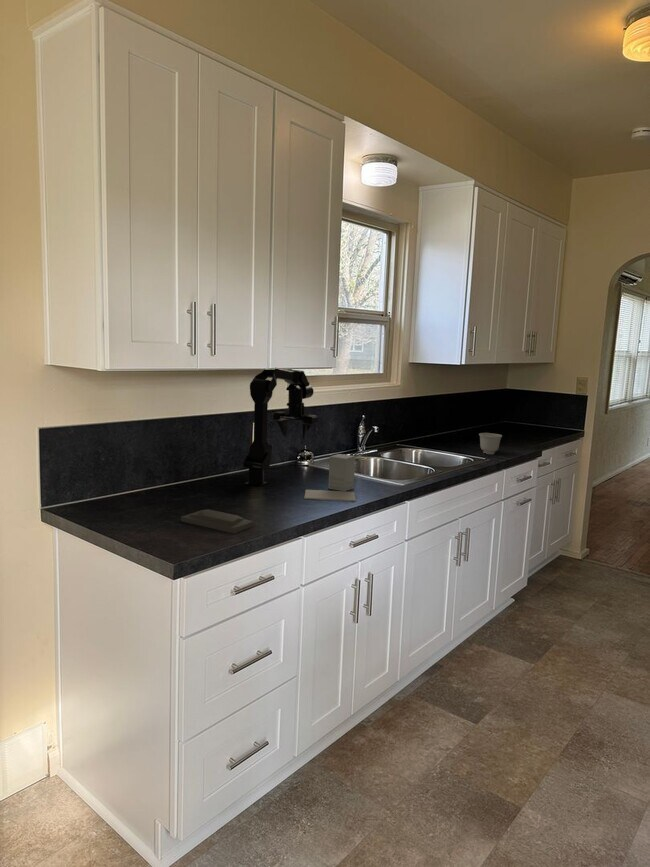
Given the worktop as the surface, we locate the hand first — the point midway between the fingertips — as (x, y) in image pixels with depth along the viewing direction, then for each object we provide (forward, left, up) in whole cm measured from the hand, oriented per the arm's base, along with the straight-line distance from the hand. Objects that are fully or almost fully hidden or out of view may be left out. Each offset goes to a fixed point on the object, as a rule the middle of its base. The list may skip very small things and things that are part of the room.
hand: (294, 437), depth 270 cm
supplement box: (-16, -28, -15) cm, 35 cm away
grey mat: (-29, -28, -15) cm, 43 cm away
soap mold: (-79, -13, -15) cm, 81 cm away
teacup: (+104, -64, -15) cm, 123 cm away
